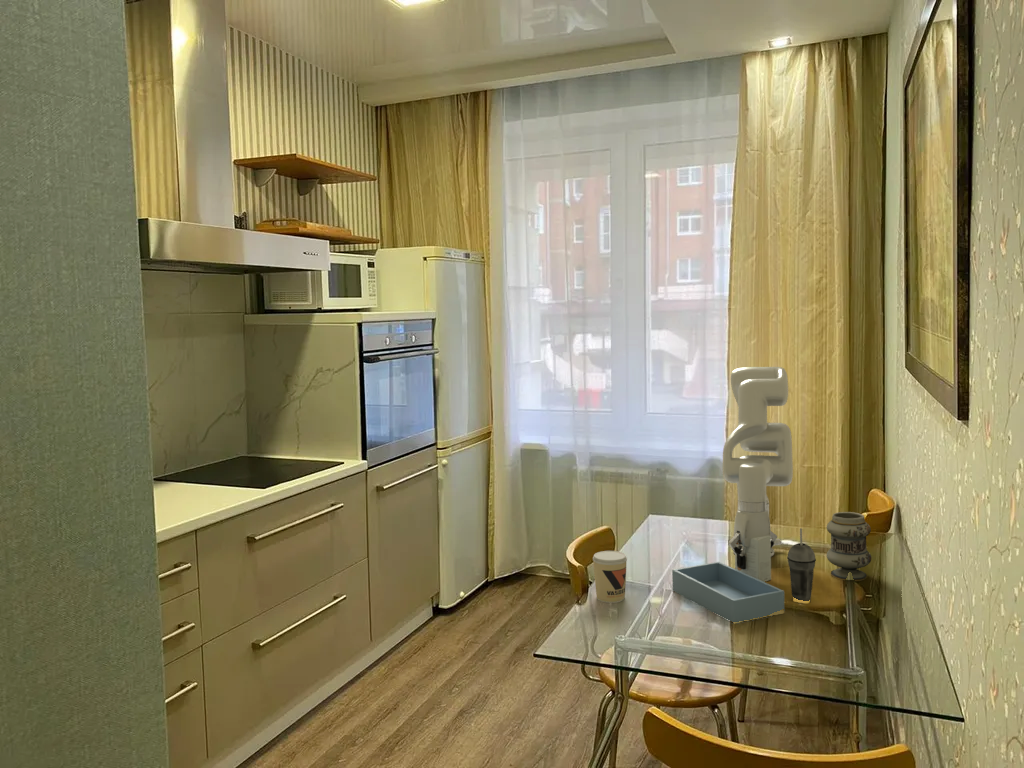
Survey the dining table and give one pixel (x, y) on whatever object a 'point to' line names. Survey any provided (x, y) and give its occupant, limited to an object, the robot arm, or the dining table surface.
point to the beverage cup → (801, 570)
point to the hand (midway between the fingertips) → (753, 565)
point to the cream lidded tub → (610, 576)
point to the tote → (727, 591)
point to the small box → (757, 558)
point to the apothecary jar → (848, 545)
